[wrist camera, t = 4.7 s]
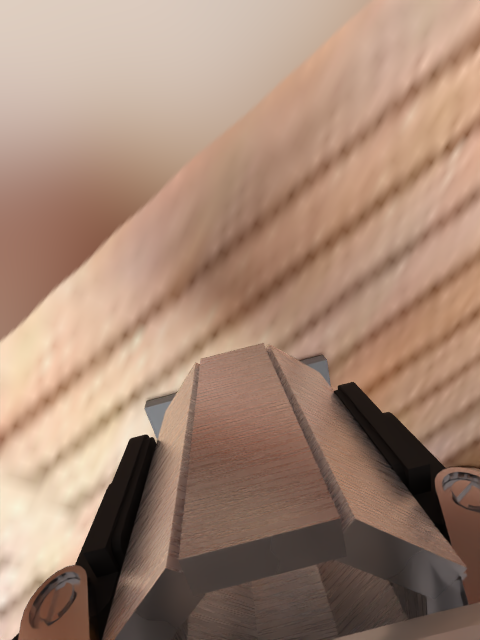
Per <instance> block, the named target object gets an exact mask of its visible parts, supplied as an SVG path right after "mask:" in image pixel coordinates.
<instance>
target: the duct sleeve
mask: <svg viewBox="0 0 480 640" xmlns="http://www.w3.org/2000/svg"><path fill="white" fill-rule="evenodd" d="M467 569H468V568H467V567H466V566H465V564H464V563H463V562H462V560H461V559H460V558H459V556H458V555H457V554H456V552H455V551H454V550H453V548H452V547H451V546H450V544H449V543H448V542H447V540H446V539H445V538H444V536H443V535H442V534H441V532H440V531H439V530H438V528H437V527H436V526H435V524H434V523H433V522H432V521H431V519H430V518H429V517H428V515H427V514H426V513H425V511H424V510H423V509H422V507H421V506H420V505H419V503H418V502H417V501H416V499H415V498H414V497H413V495H412V494H411V493H410V491H409V490H408V489H407V487H406V486H405V485H404V483H403V482H402V481H401V479H400V478H399V477H398V476H397V474H396V473H395V472H394V470H393V469H392V468H391V466H390V465H389V464H388V462H387V461H386V460H385V458H384V457H383V456H382V454H381V453H380V452H379V450H378V449H377V448H376V446H375V445H374V444H373V442H372V441H371V440H370V438H369V437H368V436H367V434H366V433H365V432H364V430H363V429H362V428H361V427H360V425H359V424H358V423H357V421H356V420H355V419H354V417H353V416H352V415H351V413H350V412H349V411H348V409H347V408H346V407H345V405H344V404H343V403H342V401H341V400H340V399H339V397H338V396H337V395H336V393H335V392H334V391H333V389H332V388H331V387H330V385H329V384H328V383H327V382H326V380H325V379H324V378H323V376H322V375H321V374H320V372H318V371H316V370H314V369H313V368H311V367H309V366H307V365H306V364H304V363H302V362H300V361H299V360H297V359H295V358H293V357H291V356H290V355H288V354H286V353H284V352H283V351H281V350H279V349H277V348H276V347H274V346H272V345H270V344H269V345H268V346H267V348H265V346H264V344H263V343H262V344H258V345H254V346H250V347H246V348H242V349H238V350H234V351H230V352H226V353H222V354H218V355H214V356H210V357H206V358H202V359H201V361H200V364H198V363H195V364H194V366H193V368H192V369H191V371H190V373H189V374H188V376H187V377H186V379H185V381H184V382H183V384H182V385H181V387H180V389H179V390H178V392H177V394H176V395H175V397H174V398H173V400H172V402H171V403H170V405H169V406H168V408H167V410H166V411H165V415H164V418H163V422H162V426H161V429H160V433H159V436H158V440H157V444H156V447H155V451H154V454H153V458H152V462H151V465H150V469H149V472H148V476H147V480H146V483H145V487H144V490H143V494H142V498H141V501H140V505H139V508H138V512H137V516H136V519H135V523H134V526H133V530H132V534H131V537H130V541H129V544H128V548H127V552H126V555H125V559H124V563H123V566H122V570H121V573H120V577H119V581H118V584H117V588H116V591H115V595H114V599H113V602H112V606H111V609H110V613H109V617H108V620H107V624H106V627H105V631H104V635H103V638H102V640H332V639H335V638H339V637H343V636H347V635H351V634H355V633H359V632H363V631H366V630H370V629H374V628H378V627H382V626H386V625H390V624H394V623H398V622H401V621H405V620H409V619H413V618H417V617H421V616H425V615H429V614H433V613H436V612H441V611H445V610H449V609H454V608H458V607H462V606H463V603H462V599H461V595H460V578H459V576H460V574H461V573H463V572H464V571H466V570H467Z"/></svg>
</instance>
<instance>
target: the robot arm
mask: <svg viewBox="0 0 480 640" xmlns="http://www.w3.org/2000/svg"><path fill="white" fill-rule="evenodd" d="M334 392H335V393H336V395H337V396H338V397H339V399H340V400H341V401H342V403H343V404H344V405H345V407H346V408H347V409H348V411H349V412H350V413H351V415H352V416H353V417H354V419H355V420H356V421H357V423H358V424H359V425H360V427H361V428H362V429H363V430H364V432H365V433H366V434H367V436H368V437H369V438H370V440H371V441H372V442H373V444H374V445H375V446H376V448H377V449H378V450H379V452H380V453H381V454H382V456H383V457H384V458H385V460H386V461H387V462H388V464H389V465H390V466H391V468H392V469H393V470H394V472H395V473H396V474H397V476H398V477H399V478H400V479H401V481H402V482H403V483H404V485H405V486H406V487H407V489H408V490H409V491H410V493H411V494H412V495H413V497H414V498H415V499H416V501H417V502H418V503H419V505H420V506H421V507H422V509H423V510H424V511H425V513H426V514H427V515H428V517H429V518H430V519H431V521H432V522H433V523H434V524H435V526H436V527H437V528H438V530H439V531H440V532H441V534H442V535H443V536H444V538H445V539H446V540H447V542H448V543H449V544H450V546H451V547H452V548H453V550H454V551H455V552H456V554H457V555H458V556H459V558H460V559H461V560H462V562H463V563H464V564H465V566H466V567H467V568H468V569H467V570H466V571H464V572H463V573H461V574H460V576H459V578H460V595H461V599H462V603H463V606H462V607H458V608H454V609H449V610H445V611H441V612H436V613H433V614H429V615H425V616H421V617H417V618H413V619H409V620H405V621H401V622H398V623H394V624H390V625H386V626H382V627H378V628H374V629H370V630H366V631H363V632H359V633H355V634H351V635H347V636H343V637H339V638H335V639H332V640H480V469H477V468H462V467H451V468H447V469H446V468H445V467H444V466H443V465H442V464H441V463H440V462H439V461H438V460H437V459H436V458H435V457H434V456H433V455H432V454H431V453H430V452H429V451H428V450H427V449H426V448H425V447H424V446H423V445H422V443H421V442H420V441H419V440H418V439H417V438H416V437H415V436H414V435H413V434H412V433H411V432H410V431H409V430H408V429H407V428H406V427H405V426H404V425H403V424H402V423H401V422H400V421H399V420H398V419H397V418H396V417H395V416H394V415H393V414H392V413H390V412H386V413H382V412H381V411H380V409H379V408H378V407H377V406H376V405H375V404H374V403H373V402H372V401H371V400H370V399H369V398H368V397H367V395H366V394H365V393H364V392H363V391H362V390H361V389H360V388H359V387H358V386H357V385H356V384H355V383H354V382H351V383H347V384H343V385H339V386H338V390H335V391H334ZM155 447H156V442H155V440H154V438H153V437H151V438H149V436H148V435H142V436H138V437H134V438H131V439H130V440H129V442H128V445H127V447H126V450H125V452H124V455H123V457H122V459H121V462H120V464H119V467H118V469H117V472H116V474H115V476H114V479H113V481H112V483H111V484H110V485H109V486H108V488H107V490H106V493H105V495H104V497H103V500H102V502H101V504H100V507H99V509H98V512H97V514H96V516H95V519H94V521H93V524H92V526H91V528H90V531H89V533H88V535H87V538H86V540H85V543H84V545H83V547H82V550H81V552H80V554H79V557H78V559H77V562H76V564H75V565H72V566H68V567H65V568H63V569H61V570H59V571H57V572H56V573H54V574H53V575H52V576H50V577H49V578H48V579H47V580H46V581H45V582H44V583H43V584H42V585H41V586H40V587H39V588H38V589H37V590H36V592H35V593H34V595H33V596H32V597H31V599H30V600H29V602H28V604H27V606H26V608H25V610H24V613H23V616H22V620H21V625H20V631H19V633H18V634H17V635H16V636H15V637H14V638H13V639H12V640H102V638H103V635H104V631H105V627H106V624H107V620H108V617H109V613H110V609H111V606H112V602H113V599H114V595H115V591H116V588H117V584H118V581H119V577H120V573H121V570H122V566H123V563H124V559H125V555H126V552H127V548H128V544H129V541H130V537H131V534H132V530H133V526H134V523H135V519H136V516H137V512H138V508H139V505H140V501H141V498H142V494H143V490H144V487H145V483H146V480H147V476H148V472H149V469H150V465H151V462H152V458H153V454H154V451H155Z"/></svg>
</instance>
